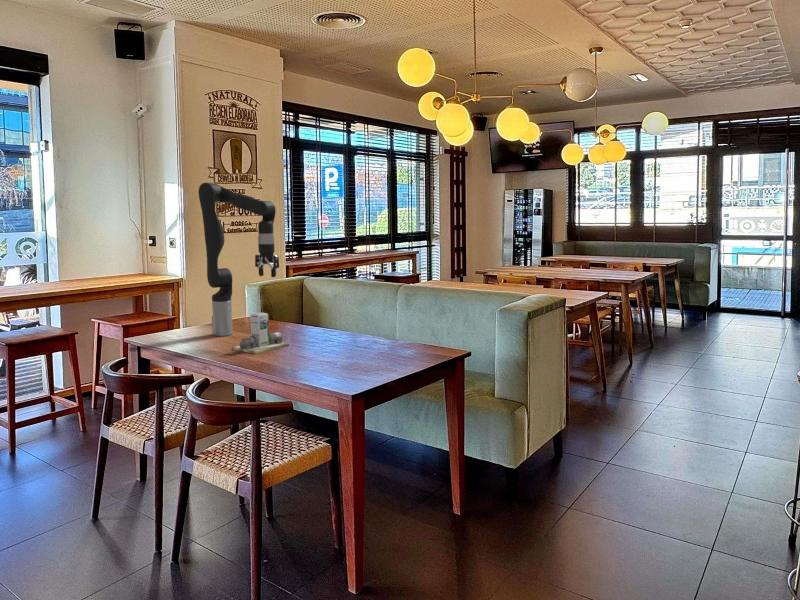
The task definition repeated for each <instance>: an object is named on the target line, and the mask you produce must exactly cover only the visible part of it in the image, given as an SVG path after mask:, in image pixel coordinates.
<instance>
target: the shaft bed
mask: <svg viewBox="0 0 800 600" xmlns="http://www.w3.org/2000/svg"><path fill="white" fill-rule="evenodd" d="M256 343H257V339H256V337H255V336H249V337H244V338H241V339H240V341H239V344H238V345H233V346H231V350H233V351H239V352H244V353H249V354H254V355H258V354H262V353H266V352H270V351H273V350H278V349H283V348H286V347H290V342H289V343H288V342H283V337H282V334H281V332H280V331H277V332H272V333H271V332H269V345H264V346H256Z"/></svg>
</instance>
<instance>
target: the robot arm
mask: <svg viewBox="0 0 800 600" xmlns="http://www.w3.org/2000/svg"><path fill="white" fill-rule="evenodd" d="M198 199H199V204H200V208H201V213H202V222H203V230H204V231H203V233H204V242H205V249H206V251H205V252H206V276H207V283H208V284H209V287H211V288H216V289H217V288H219V290H217V292H215V293H214V294H212V295H211V304H212V315H211V332H212V335H213V336H217V337H222V336H223V337H225V336H231V335H233V333H234V332H233V312H232V296H233V274H232V272H231V270H230V269H229V268H226V267H225V268H224V267H222V268H221V267H220V268H219V256H220V254H221V252H222V250H223V247H224V245H225V241H226V239H225V231H224V227H223V224H222V222H221V221H220V218H219V217H218V214H217V212H216V206H215V203H226V204H229V205H232V207H235V208H238V209H240V210H243V211H247V212H250V213H252V214H255V215H256V216H261V217H262V219H261V221H259V222H258V223H257V224H258V226H257V228H258V230H257V231H258V235H257V238H258V239H257V240H258V241H257V243H258V247H257V248H258V253H259V254H255V256H254V260H255V261H254V267H256V268H257V269H258V277H264V266H265V265H268V267H270V275H271V276H270V277H271V278H276V276H277V269H279V268H280V260H279V259H280V257H279V255H274V253H275V251H276V250H275V236H274V234H275V233H274V222H275V217H276V211H277V210H276V209H277V208H276V205H275V204H274V202H272V201H270V200H259V199H257V198H255V197H254V196H249V195H246V194H244V193H239V192H236V191H235V192H234V191H232V190H230V189H227V188H225V187H223V186H221V185H219V184H217V183H213V182H202V183H201V184H200V185H199V187H198Z"/></svg>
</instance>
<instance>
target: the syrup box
mask: <svg viewBox="0 0 800 600" xmlns="http://www.w3.org/2000/svg"><path fill="white" fill-rule="evenodd" d="M249 318H250V332H251V336H255V337H256V339H257V343H256V346H264V345H269V333H270V330H269V329H270V327H269V323H270V322H269V313H267V312H256V313H250V317H249Z"/></svg>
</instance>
